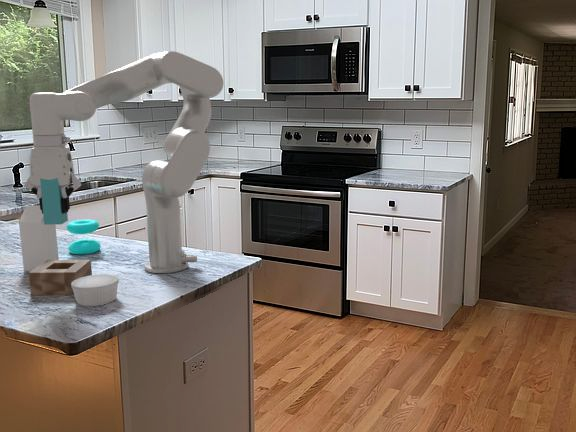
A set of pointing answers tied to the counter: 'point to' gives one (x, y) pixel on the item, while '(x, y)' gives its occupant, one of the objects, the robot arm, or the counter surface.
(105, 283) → the ramekin
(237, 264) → the counter surface
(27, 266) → the milk carton
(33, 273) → the socket block
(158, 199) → the robot arm
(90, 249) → the teal stacked rings
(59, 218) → the peg
